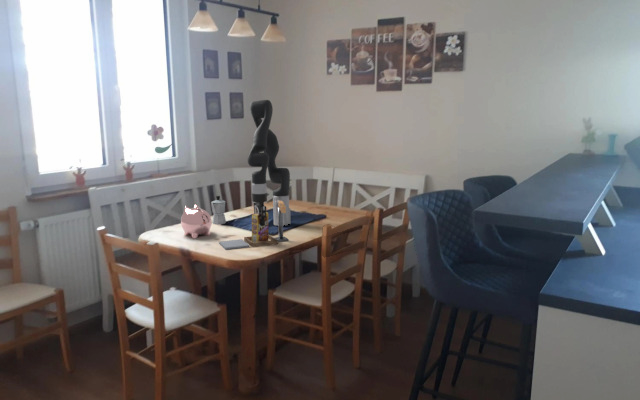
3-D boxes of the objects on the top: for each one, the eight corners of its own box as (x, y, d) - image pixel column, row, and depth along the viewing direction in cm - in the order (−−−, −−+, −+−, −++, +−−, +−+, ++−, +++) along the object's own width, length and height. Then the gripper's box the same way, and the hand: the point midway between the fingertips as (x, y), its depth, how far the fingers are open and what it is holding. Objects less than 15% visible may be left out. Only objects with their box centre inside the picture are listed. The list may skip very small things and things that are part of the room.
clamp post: (284, 238, 268) (283, 205, 265) (288, 240, 262) (287, 207, 260) (273, 239, 265) (272, 206, 263) (277, 242, 260) (276, 208, 257)
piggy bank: (200, 230, 288) (198, 203, 286) (217, 235, 276) (216, 206, 273) (175, 235, 278) (174, 206, 275) (192, 240, 265) (191, 210, 263)
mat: (241, 241, 263) (241, 239, 262) (249, 247, 250) (249, 245, 250) (219, 243, 258) (218, 241, 258) (225, 249, 245) (225, 247, 245)
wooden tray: (269, 238, 268) (269, 234, 268) (277, 243, 256) (277, 240, 256) (244, 240, 263) (244, 237, 263) (251, 246, 251) (251, 242, 250)
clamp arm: (276, 205, 262) (276, 200, 262) (283, 205, 263) (282, 199, 262) (280, 212, 242) (280, 206, 242) (287, 212, 243) (287, 206, 242)
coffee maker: (220, 228, 294) (219, 197, 291) (207, 227, 297) (205, 197, 294) (232, 223, 308) (231, 194, 305) (220, 222, 311) (218, 193, 308)
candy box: (258, 244, 255) (257, 215, 252) (251, 243, 257) (250, 214, 254) (269, 241, 262) (268, 212, 260) (262, 240, 264) (262, 211, 262)
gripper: (271, 193, 250) (271, 226, 253) (262, 189, 263) (263, 221, 266) (256, 194, 247) (257, 227, 250) (248, 190, 260) (249, 222, 263)
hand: (260, 224), depth 258 cm, fingers open, 6 cm apart
